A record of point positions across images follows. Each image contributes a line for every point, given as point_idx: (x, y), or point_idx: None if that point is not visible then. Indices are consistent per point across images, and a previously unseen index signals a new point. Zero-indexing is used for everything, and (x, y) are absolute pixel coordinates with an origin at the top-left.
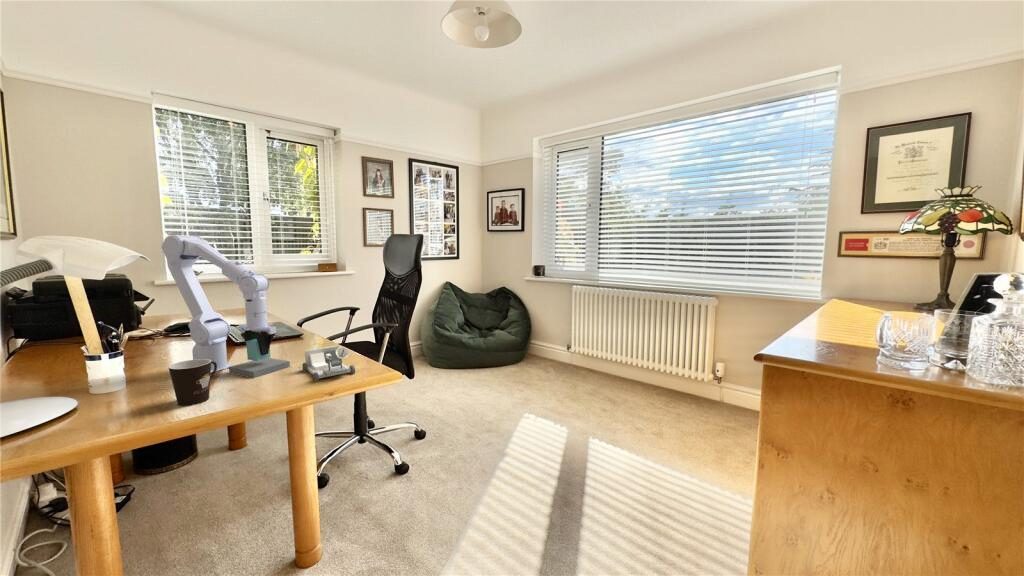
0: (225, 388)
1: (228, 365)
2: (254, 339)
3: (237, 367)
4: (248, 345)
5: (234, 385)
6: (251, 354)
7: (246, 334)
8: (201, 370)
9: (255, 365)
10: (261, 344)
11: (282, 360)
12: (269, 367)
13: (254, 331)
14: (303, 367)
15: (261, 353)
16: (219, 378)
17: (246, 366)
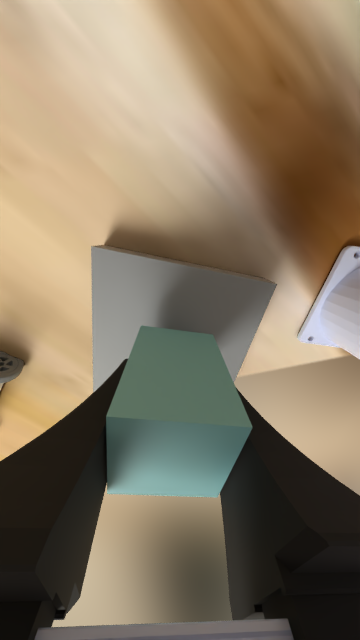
0: (80, 40)
1: (318, 333)
2: (224, 472)
3: (230, 285)
4: (214, 392)
5: (85, 114)
6: (183, 347)
7: (293, 538)
8: None
9: (174, 326)
10: (72, 411)
11: None
12: (93, 321)
13: (222, 623)
14: (7, 366)
15: (121, 363)
16: (252, 202)
17: (200, 306)
